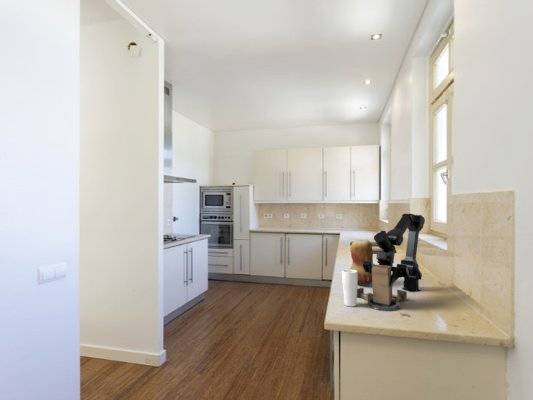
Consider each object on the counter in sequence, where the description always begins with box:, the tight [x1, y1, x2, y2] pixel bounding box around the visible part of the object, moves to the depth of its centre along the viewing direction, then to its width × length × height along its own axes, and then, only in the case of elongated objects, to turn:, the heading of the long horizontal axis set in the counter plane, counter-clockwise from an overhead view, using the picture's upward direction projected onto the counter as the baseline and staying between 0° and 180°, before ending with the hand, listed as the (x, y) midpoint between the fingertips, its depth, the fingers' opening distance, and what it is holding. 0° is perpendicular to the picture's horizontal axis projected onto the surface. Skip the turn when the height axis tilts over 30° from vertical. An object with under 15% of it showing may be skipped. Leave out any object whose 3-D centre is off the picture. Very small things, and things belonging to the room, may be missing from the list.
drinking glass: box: [341, 269, 359, 307], centre depth 133 cm, size 7×7×15 cm
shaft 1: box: [357, 287, 373, 303], centre depth 141 cm, size 8×4×4 cm, turn 24°
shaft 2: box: [392, 289, 408, 304], centre depth 137 cm, size 8×4×4 cm, turn 124°
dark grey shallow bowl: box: [366, 298, 400, 312], centre depth 131 cm, size 13×13×2 cm
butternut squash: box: [350, 239, 374, 286], centre depth 166 cm, size 14×13×25 cm
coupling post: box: [371, 264, 393, 305], centre depth 131 cm, size 6×6×15 cm
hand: (381, 284), depth 130 cm, fingers closed on coupling post, 6 cm apart
